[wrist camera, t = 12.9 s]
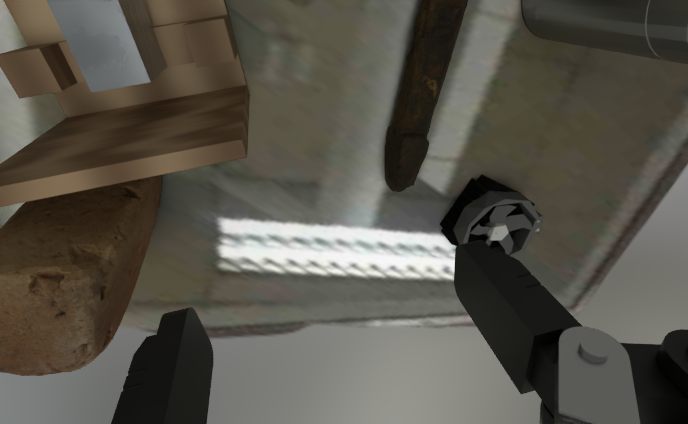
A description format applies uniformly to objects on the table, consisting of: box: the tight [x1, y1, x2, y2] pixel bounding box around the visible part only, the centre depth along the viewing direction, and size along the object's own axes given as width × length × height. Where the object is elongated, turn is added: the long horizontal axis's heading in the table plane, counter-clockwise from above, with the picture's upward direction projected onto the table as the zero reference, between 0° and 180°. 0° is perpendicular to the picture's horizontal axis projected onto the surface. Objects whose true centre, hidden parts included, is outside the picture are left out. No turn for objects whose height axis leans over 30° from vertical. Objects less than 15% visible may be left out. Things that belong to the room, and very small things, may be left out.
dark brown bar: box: [385, 0, 468, 192], centre depth 37 cm, size 23×5×6 cm, turn 166°
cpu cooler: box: [440, 175, 543, 257], centre depth 48 cm, size 10×6×10 cm
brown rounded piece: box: [0, 175, 162, 376], centre depth 30 cm, size 11×8×20 cm
